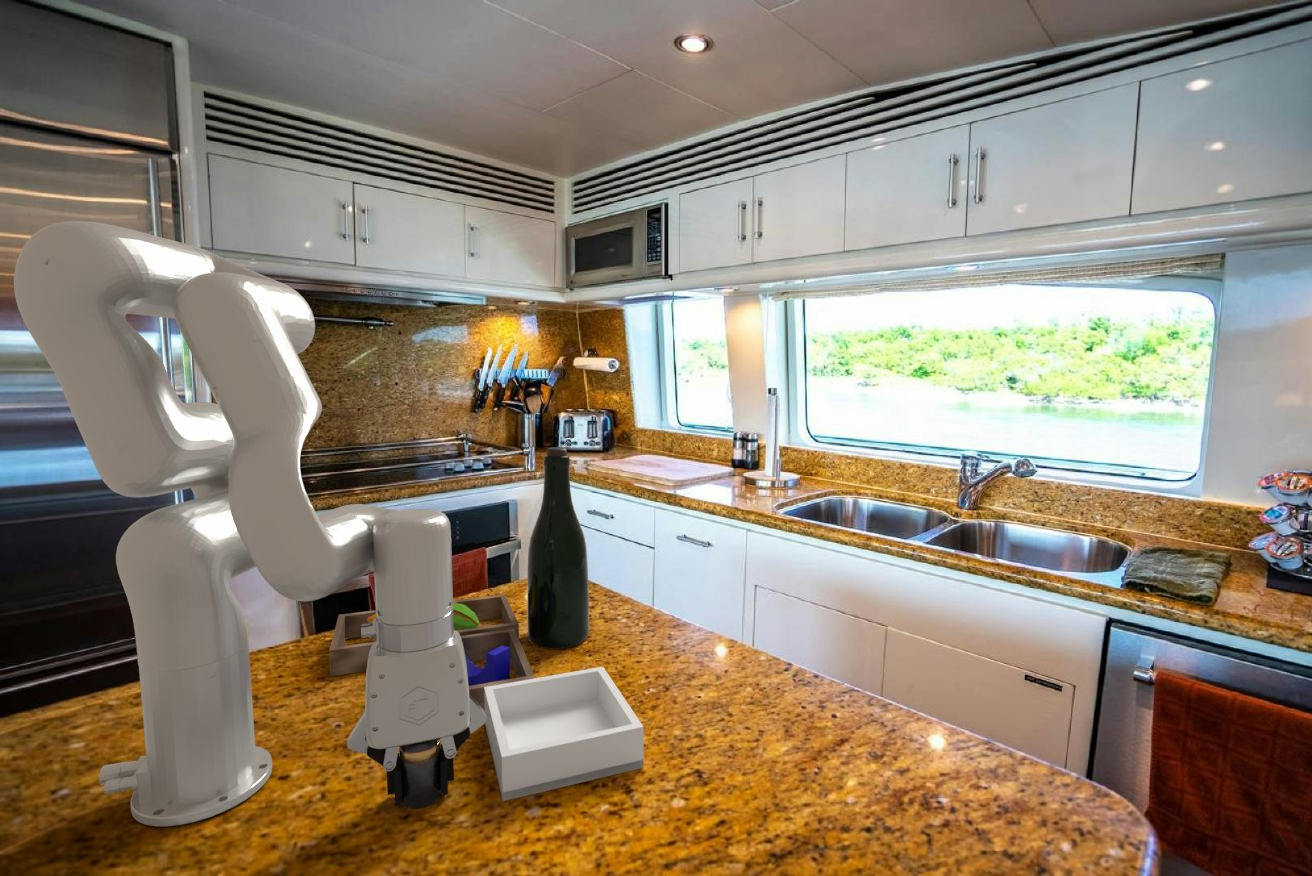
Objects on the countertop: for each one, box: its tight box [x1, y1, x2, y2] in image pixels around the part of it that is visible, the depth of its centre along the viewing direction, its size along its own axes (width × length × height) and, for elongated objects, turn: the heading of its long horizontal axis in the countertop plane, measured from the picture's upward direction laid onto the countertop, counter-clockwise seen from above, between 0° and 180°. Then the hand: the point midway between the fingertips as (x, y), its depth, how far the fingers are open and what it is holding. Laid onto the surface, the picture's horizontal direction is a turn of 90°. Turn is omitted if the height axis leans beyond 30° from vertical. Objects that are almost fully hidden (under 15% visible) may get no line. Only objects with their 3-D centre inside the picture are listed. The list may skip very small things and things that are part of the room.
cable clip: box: [465, 646, 511, 686], centre depth 93 cm, size 12×4×6 cm, turn 60°
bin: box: [484, 666, 645, 802], centre depth 77 cm, size 16×16×5 cm
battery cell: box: [398, 738, 442, 810], centre depth 68 cm, size 4×4×8 cm
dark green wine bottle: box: [526, 446, 590, 650], centre depth 107 cm, size 10×10×33 cm
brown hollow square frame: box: [461, 629, 536, 711], centre depth 91 cm, size 18×18×4 cm
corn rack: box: [328, 594, 520, 677], centre depth 107 cm, size 28×15×4 cm, turn 112°
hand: (421, 790), depth 68 cm, fingers closed on battery cell, 4 cm apart
